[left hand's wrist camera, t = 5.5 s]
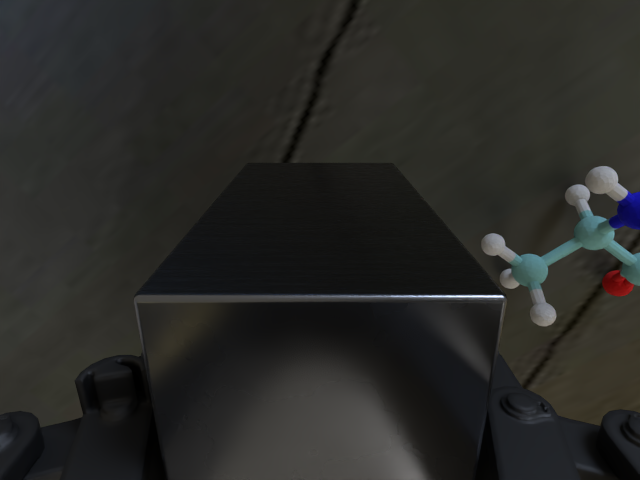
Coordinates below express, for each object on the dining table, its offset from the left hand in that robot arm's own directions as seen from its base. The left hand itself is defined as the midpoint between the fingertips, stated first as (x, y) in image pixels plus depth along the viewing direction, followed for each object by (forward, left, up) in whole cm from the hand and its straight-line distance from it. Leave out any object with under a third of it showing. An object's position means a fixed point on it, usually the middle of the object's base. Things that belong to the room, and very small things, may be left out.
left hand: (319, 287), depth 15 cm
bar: (-2, +7, -1) cm, 8 cm away
